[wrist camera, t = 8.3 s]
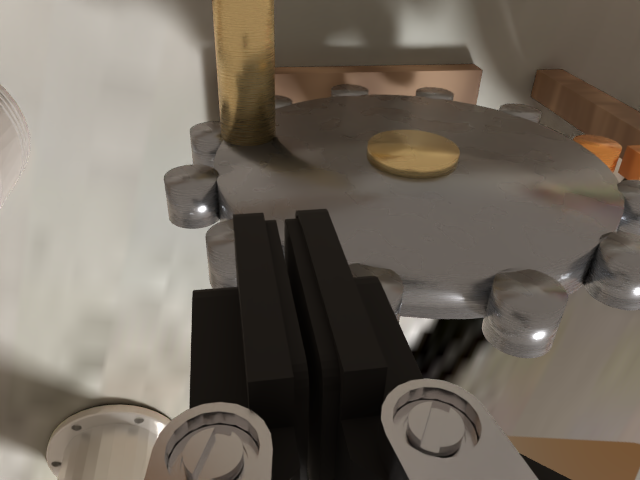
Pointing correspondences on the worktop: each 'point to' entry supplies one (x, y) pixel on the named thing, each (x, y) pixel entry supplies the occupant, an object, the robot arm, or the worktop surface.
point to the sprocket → (414, 192)
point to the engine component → (11, 144)
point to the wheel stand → (464, 81)
